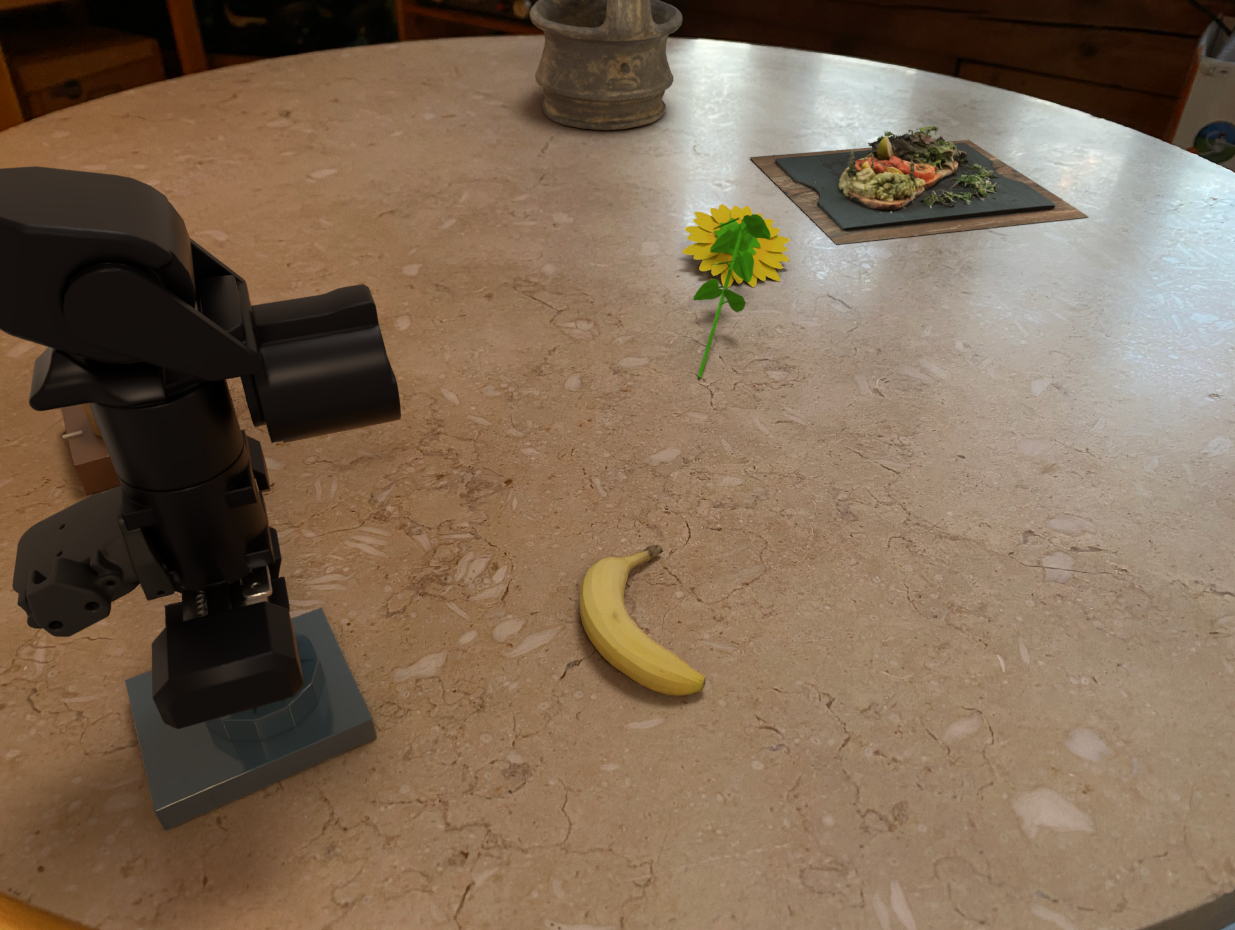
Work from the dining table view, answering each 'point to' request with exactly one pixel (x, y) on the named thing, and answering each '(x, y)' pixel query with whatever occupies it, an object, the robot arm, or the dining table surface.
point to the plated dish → (911, 189)
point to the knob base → (252, 733)
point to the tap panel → (88, 452)
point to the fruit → (630, 630)
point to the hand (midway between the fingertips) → (253, 664)
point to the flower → (734, 254)
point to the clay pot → (604, 61)
